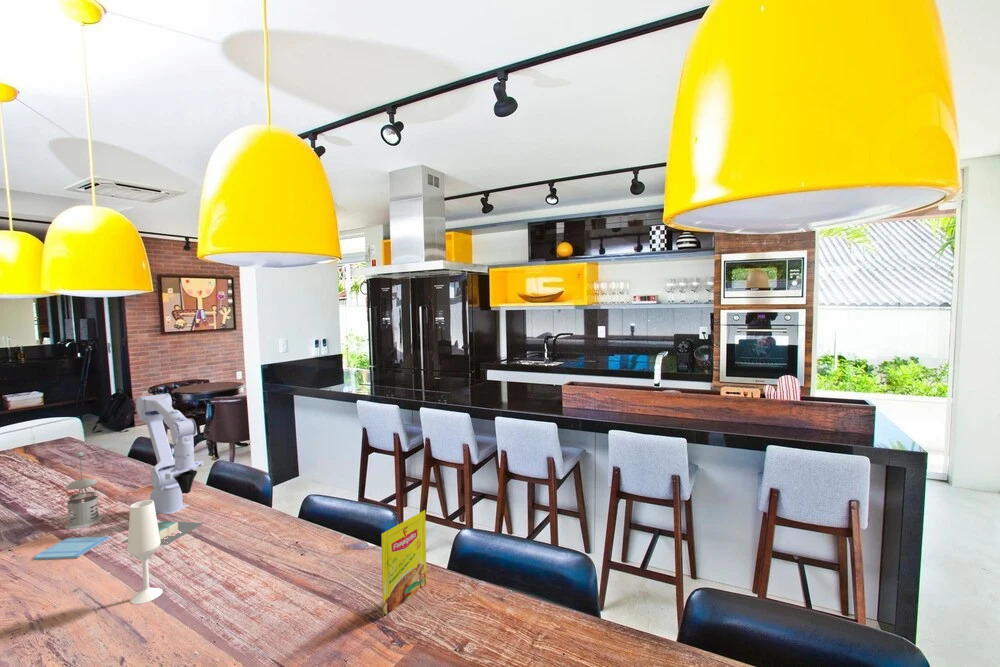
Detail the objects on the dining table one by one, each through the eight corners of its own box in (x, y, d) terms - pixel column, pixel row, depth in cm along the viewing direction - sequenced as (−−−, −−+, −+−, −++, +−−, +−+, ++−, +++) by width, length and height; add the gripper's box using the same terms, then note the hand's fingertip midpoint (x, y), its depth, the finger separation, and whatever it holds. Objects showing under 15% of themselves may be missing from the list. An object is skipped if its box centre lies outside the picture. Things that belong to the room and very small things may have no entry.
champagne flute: (123, 600, 117) (118, 507, 116) (151, 585, 123) (147, 497, 122) (141, 606, 114) (136, 510, 113) (169, 590, 121) (164, 500, 120)
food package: (385, 617, 109) (383, 534, 108) (381, 616, 109) (379, 533, 109) (428, 584, 122) (426, 510, 121) (425, 583, 122) (423, 509, 122)
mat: (121, 543, 146) (121, 542, 146) (162, 522, 161) (162, 520, 161) (166, 546, 144) (166, 544, 144) (203, 524, 159) (203, 523, 159)
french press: (64, 532, 155) (59, 458, 154) (65, 520, 164) (61, 450, 163) (102, 523, 162) (98, 452, 160) (102, 512, 170) (98, 445, 169)
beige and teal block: (162, 528, 155) (143, 538, 148) (161, 520, 155) (143, 530, 148) (178, 529, 155) (160, 539, 148) (177, 521, 154) (159, 531, 148)
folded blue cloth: (31, 561, 138) (31, 557, 137) (67, 541, 150) (67, 537, 149) (78, 559, 138) (78, 555, 138) (110, 540, 150) (110, 536, 150)
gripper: (177, 461, 155) (179, 501, 156) (210, 448, 170) (211, 485, 170) (158, 460, 156) (160, 500, 157) (192, 448, 170) (194, 484, 171)
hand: (186, 492), depth 163 cm, fingers closed
